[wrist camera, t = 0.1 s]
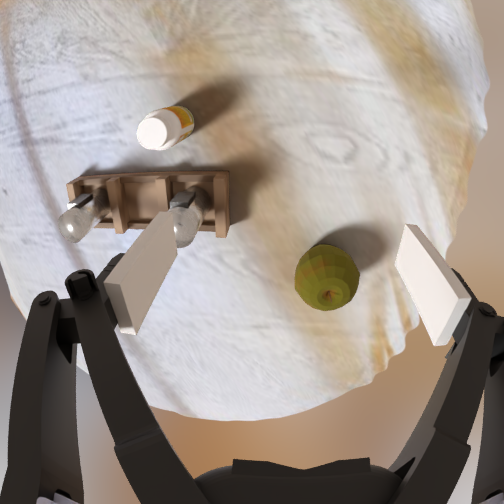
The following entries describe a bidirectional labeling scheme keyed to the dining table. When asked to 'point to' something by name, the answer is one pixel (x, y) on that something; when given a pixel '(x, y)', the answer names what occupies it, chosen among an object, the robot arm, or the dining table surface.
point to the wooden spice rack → (155, 197)
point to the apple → (326, 277)
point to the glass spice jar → (84, 214)
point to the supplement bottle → (165, 127)
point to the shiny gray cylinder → (189, 213)
